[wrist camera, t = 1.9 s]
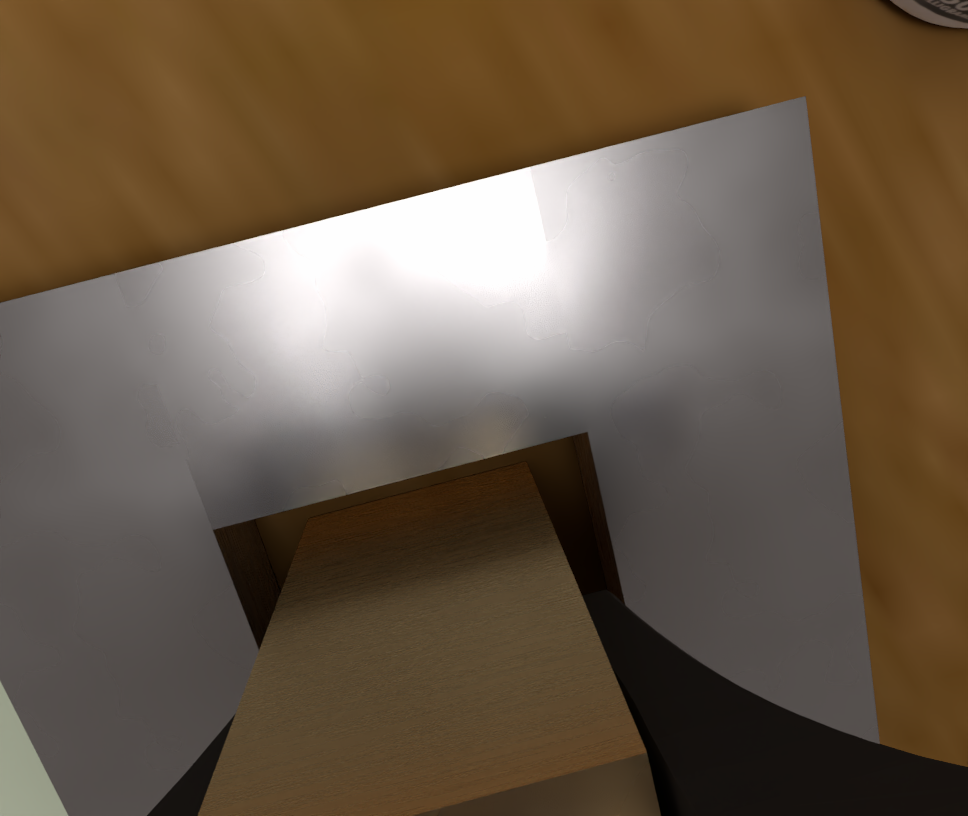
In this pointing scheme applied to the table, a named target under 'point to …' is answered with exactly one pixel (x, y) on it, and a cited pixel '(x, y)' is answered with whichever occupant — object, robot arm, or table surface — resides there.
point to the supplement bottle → (937, 11)
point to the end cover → (433, 671)
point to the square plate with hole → (433, 431)
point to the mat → (22, 770)
